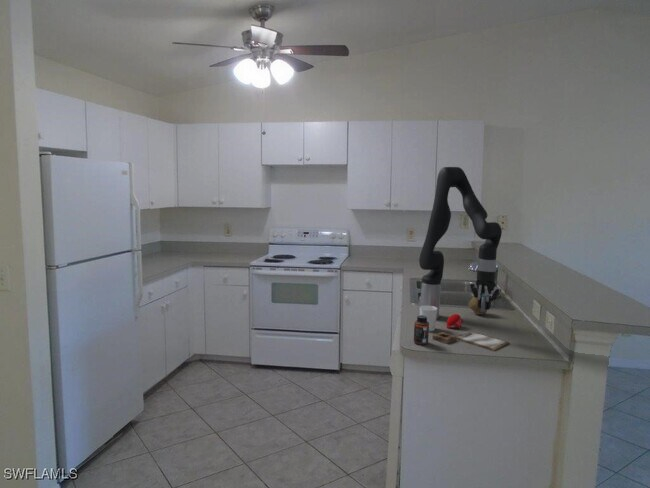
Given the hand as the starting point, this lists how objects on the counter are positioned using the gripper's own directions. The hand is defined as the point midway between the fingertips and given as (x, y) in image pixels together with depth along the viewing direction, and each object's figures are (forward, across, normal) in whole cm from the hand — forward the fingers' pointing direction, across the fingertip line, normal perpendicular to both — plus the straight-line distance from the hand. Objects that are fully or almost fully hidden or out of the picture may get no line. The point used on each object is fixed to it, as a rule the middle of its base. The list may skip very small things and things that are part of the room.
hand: (484, 308), depth 189 cm
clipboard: (+13, +2, -4) cm, 14 cm away
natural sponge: (+13, -20, +31) cm, 39 cm away
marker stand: (+13, -9, -15) cm, 22 cm away
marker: (+2, 0, 0) cm, 2 cm away
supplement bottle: (+13, -13, -26) cm, 32 cm away
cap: (+13, -16, +3) cm, 21 cm away
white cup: (+13, -22, -9) cm, 27 cm away
